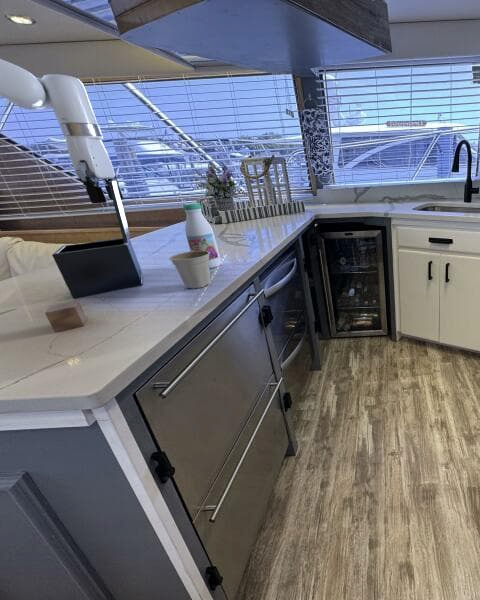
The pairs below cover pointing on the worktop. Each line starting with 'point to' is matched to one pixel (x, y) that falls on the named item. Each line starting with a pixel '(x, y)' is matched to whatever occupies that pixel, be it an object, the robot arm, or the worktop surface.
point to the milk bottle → (200, 234)
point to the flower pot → (193, 268)
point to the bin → (98, 267)
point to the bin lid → (119, 210)
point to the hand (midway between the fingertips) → (108, 201)
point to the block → (66, 316)
